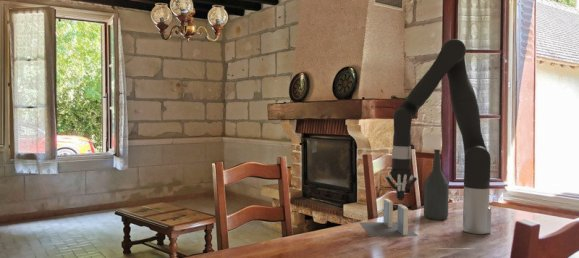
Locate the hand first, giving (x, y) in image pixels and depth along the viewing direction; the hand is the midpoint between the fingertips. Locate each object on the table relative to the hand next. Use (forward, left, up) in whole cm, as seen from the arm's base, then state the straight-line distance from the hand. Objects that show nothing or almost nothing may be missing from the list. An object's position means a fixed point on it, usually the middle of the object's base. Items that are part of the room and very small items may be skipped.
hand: (400, 199), depth 188 cm
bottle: (-20, -15, -11) cm, 27 cm away
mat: (+7, +7, -11) cm, 14 cm away
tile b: (+2, +12, -10) cm, 16 cm away
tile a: (+5, 0, -10) cm, 11 cm away
